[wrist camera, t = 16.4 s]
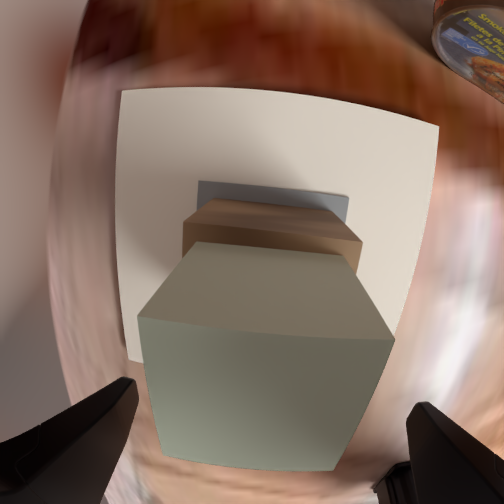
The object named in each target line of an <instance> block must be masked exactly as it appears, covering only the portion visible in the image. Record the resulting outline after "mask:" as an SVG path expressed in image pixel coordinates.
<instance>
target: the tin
mask: <svg viewBox="0 0 504 504" xmlns="http://www.w3.org/2000/svg"><path fill="white" fill-rule="evenodd" d="M431 40H432V45H433V48H434V50H435V51H436V53H437V55H438V56H439V58H440V59H441V60H442V61H443V62H444V63H445V64H446V65H447V66H448V67H449V68H450V69H451V70H453V71H454V72H455V73H457V74H458V75H460V76H461V77H463V78H464V79H466V80H468V81H469V82H471V83H473V84H474V85H476V86H478V87H479V88H481V89H482V90H484V91H485V92H487V93H488V94H490V95H491V96H493V97H494V98H496V99H497V100H499V101H500V102H502V103H503V104H504V0H436V1H435V3H434V12H433V29H432V33H431Z"/></svg>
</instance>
